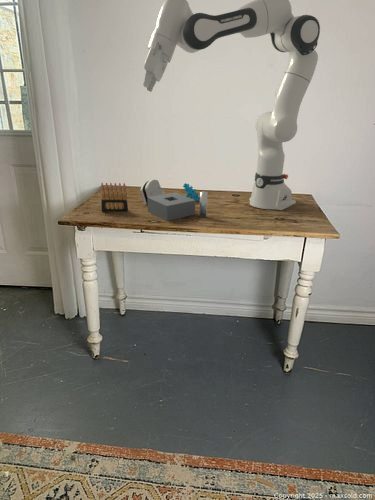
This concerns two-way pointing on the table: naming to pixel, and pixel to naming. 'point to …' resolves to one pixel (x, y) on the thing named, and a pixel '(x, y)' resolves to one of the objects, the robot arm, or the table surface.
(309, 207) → the table surface
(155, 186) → the hinge
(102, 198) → the ammunition clip
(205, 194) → the steel pin
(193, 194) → the gear
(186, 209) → the pin block
